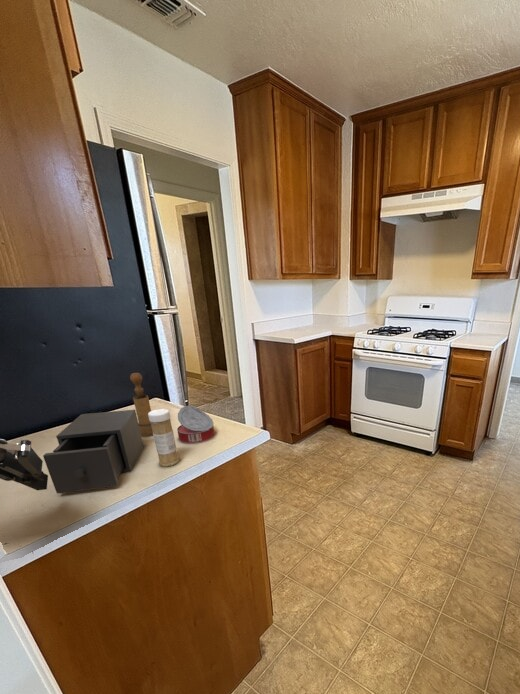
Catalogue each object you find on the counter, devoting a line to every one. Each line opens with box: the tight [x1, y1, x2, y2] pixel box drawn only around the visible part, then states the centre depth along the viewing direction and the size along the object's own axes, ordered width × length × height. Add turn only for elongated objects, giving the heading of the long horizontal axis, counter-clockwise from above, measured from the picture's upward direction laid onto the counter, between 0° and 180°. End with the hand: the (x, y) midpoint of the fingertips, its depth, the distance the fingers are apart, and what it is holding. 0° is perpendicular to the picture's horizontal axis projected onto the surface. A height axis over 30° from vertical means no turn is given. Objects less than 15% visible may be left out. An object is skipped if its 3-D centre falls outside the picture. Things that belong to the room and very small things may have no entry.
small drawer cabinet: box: [55, 409, 145, 473], centre depth 86 cm, size 15×13×11 cm
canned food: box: [176, 405, 216, 444], centre depth 101 cm, size 11×10×10 cm
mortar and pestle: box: [129, 372, 153, 438], centre depth 102 cm, size 7×6×18 cm
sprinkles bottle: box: [148, 408, 180, 467], centre depth 84 cm, size 5×5×14 cm
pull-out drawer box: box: [42, 433, 125, 494], centre depth 78 cm, size 15×11×9 cm
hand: (42, 482), depth 65 cm, fingers closed
